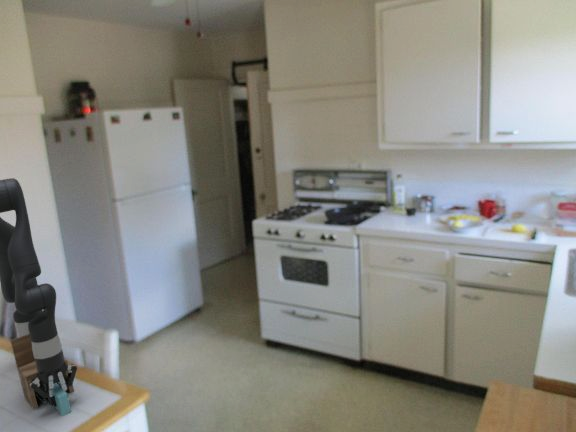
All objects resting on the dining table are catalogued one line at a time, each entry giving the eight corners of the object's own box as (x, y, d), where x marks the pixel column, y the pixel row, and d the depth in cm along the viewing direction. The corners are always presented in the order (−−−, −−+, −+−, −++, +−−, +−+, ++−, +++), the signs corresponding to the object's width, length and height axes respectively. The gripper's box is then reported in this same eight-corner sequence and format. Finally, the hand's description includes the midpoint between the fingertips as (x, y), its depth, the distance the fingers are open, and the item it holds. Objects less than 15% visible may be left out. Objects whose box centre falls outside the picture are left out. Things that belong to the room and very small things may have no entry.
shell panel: (46, 397, 152) (42, 380, 151) (54, 394, 154) (50, 377, 153) (62, 415, 142) (58, 397, 141) (71, 411, 144) (67, 393, 143)
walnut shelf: (24, 398, 153) (10, 340, 148) (63, 381, 161) (51, 325, 156) (33, 409, 147) (19, 349, 142) (74, 391, 155) (61, 333, 150)
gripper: (67, 338, 150) (78, 388, 154) (18, 357, 140) (31, 409, 144) (76, 345, 144) (87, 397, 148) (26, 365, 135) (39, 420, 139)
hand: (59, 403), depth 146 cm, fingers closed on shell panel, 2 cm apart
